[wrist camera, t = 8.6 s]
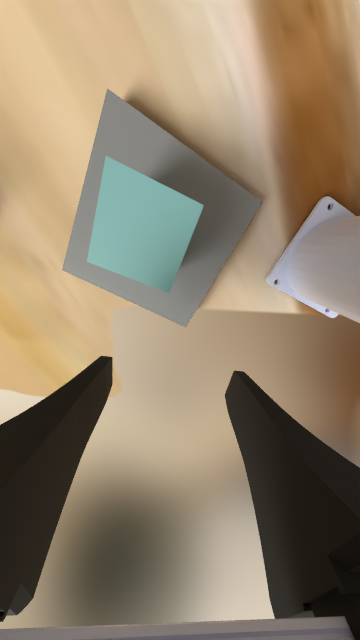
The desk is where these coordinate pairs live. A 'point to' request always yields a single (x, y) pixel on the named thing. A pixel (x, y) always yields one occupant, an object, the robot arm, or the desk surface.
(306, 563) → the robot arm
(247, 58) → the desk surface
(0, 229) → the desk surface
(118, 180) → the teal block
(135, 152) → the slate base
